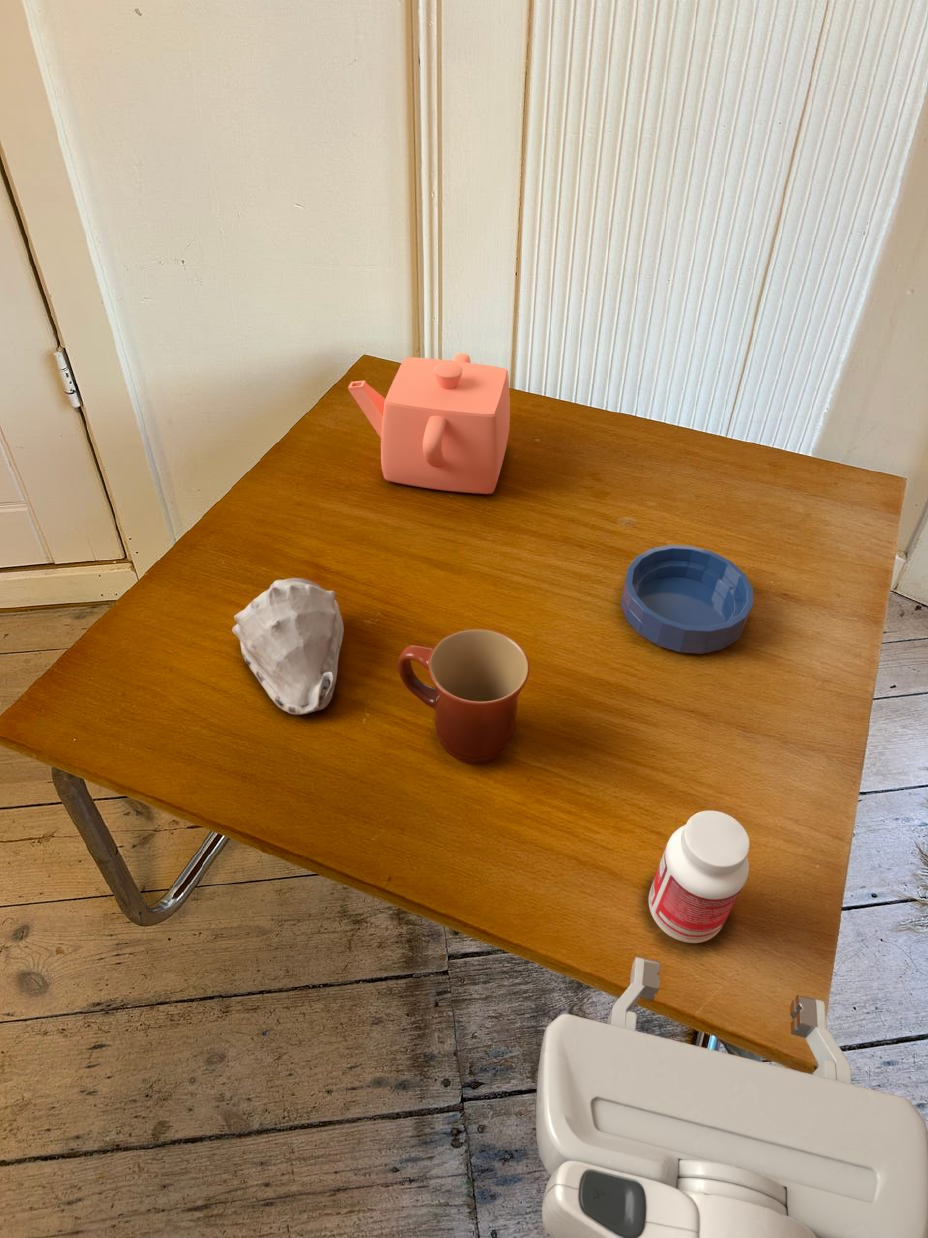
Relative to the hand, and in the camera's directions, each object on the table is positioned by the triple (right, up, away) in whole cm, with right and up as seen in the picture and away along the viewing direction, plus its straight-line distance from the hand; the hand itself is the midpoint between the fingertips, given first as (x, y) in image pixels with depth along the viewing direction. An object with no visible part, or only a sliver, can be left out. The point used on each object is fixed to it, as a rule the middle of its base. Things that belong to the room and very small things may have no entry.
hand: (725, 981), depth 51 cm
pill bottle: (+2, -2, +19) cm, 19 cm away
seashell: (-32, +17, +37) cm, 51 cm away
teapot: (-20, +42, +62) cm, 78 cm away
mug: (-16, +11, +31) cm, 37 cm away
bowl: (+8, +22, +43) cm, 50 cm away
